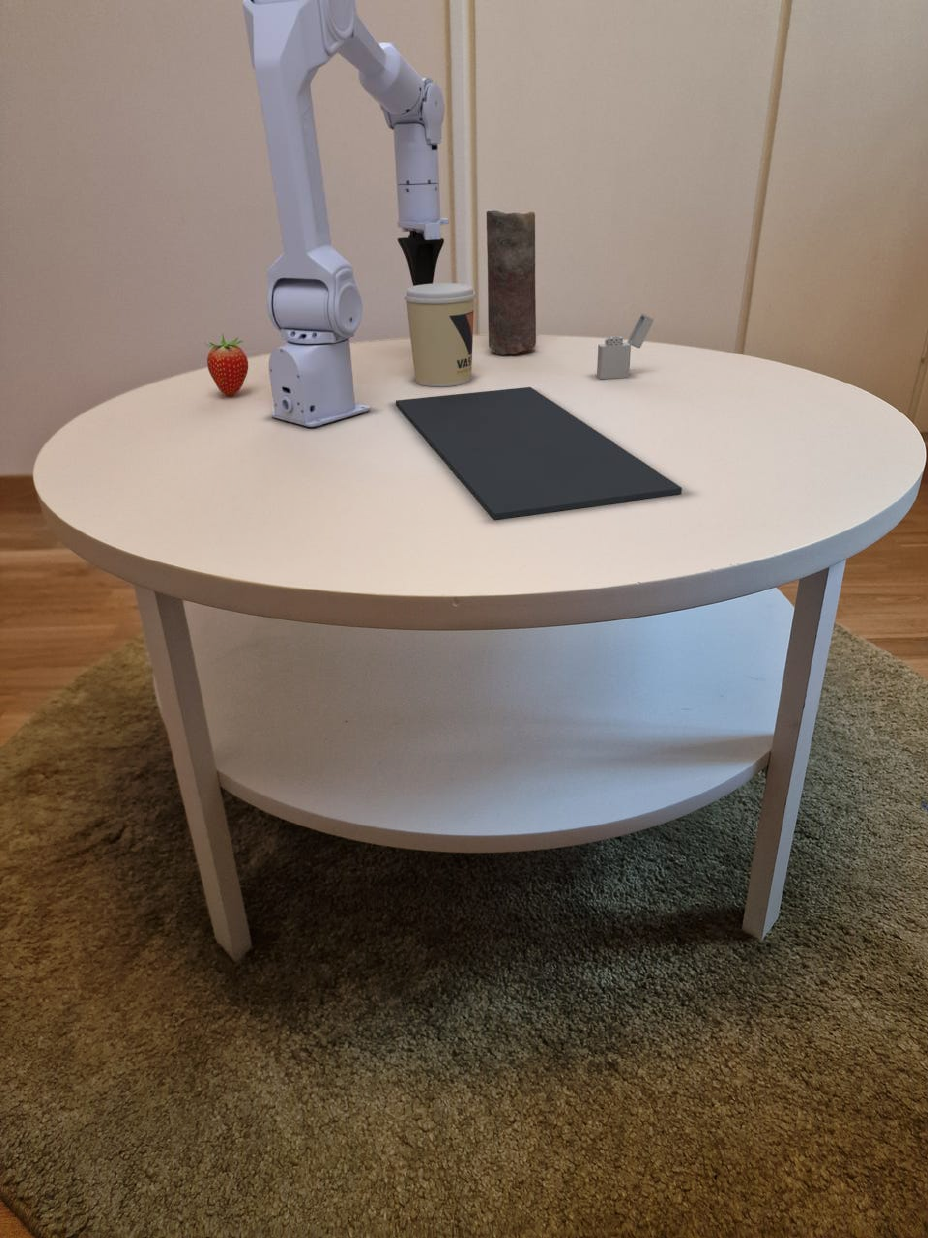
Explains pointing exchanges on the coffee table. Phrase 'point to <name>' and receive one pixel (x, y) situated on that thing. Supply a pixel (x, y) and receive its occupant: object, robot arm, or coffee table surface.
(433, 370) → the coffee cup
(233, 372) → the fruit
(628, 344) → the lighter
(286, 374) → the robot arm
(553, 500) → the mat
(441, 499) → the coffee table surface
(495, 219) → the brown stone cylinder
